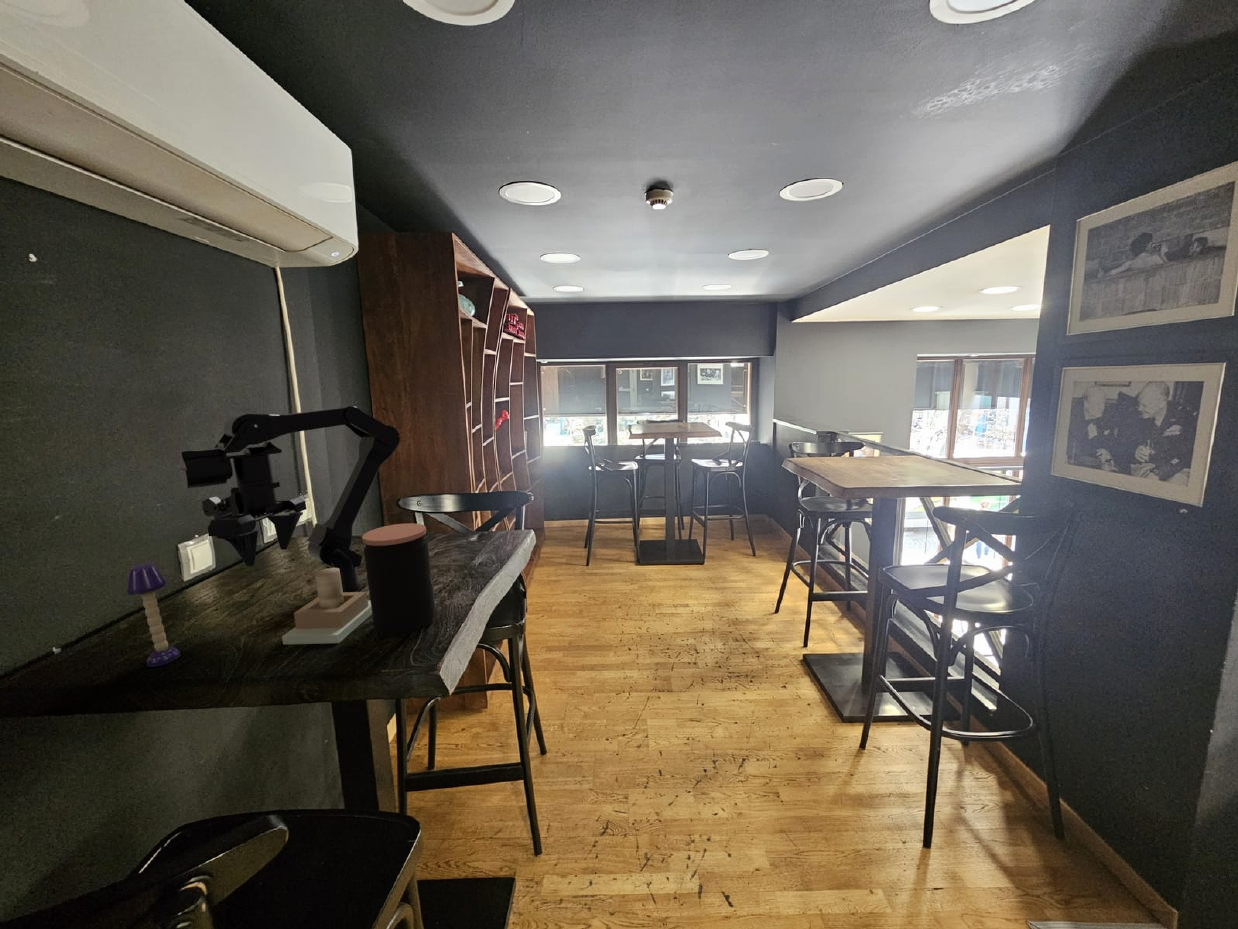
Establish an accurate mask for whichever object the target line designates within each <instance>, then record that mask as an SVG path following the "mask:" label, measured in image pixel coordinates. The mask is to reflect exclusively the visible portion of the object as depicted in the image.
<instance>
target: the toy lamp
mask: <svg viewBox="0 0 1238 929" xmlns="http://www.w3.org/2000/svg"><path fill="white" fill-rule="evenodd" d="M166 584H167V581H166V580H165V578H164V576H163V575H162V574H161V572H160V570H159V569H158V568H157V566H156V565H155V564H154V563H153V562H152V563H143V564H139V565H136V566H133V567H131V568H129V570H128V578H127V588H126V591H127V592H126V593H127V594H128V595H131V596H136V595H140V597H141V599H143V602H142V606H143V607H144V608H145V611H144V612H145V613H144V614H145V616H146V617H147V619H146V621H147V624H148V626H149V633H150V634H151V640H152V643H154V645H153V646H154V647H153V648H154V651H153V652H152V653H151V654H150V655H148V658H147V660H146V666H147V667H149V668H155V667H160V666H163V665H167V664H169V663H172V662H175V660H177V659H179V658H180V657H181V652H180V650H179V649H177V648H176V647H172V646H169V643H168V640H167V634H166V632H165V631H164V630H165V627H164V625H163V623H162V616H161V615H160V607H159V606H158V598H156V591H157V590H160V589H161V588H163V587H165V586H166Z"/></svg>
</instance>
